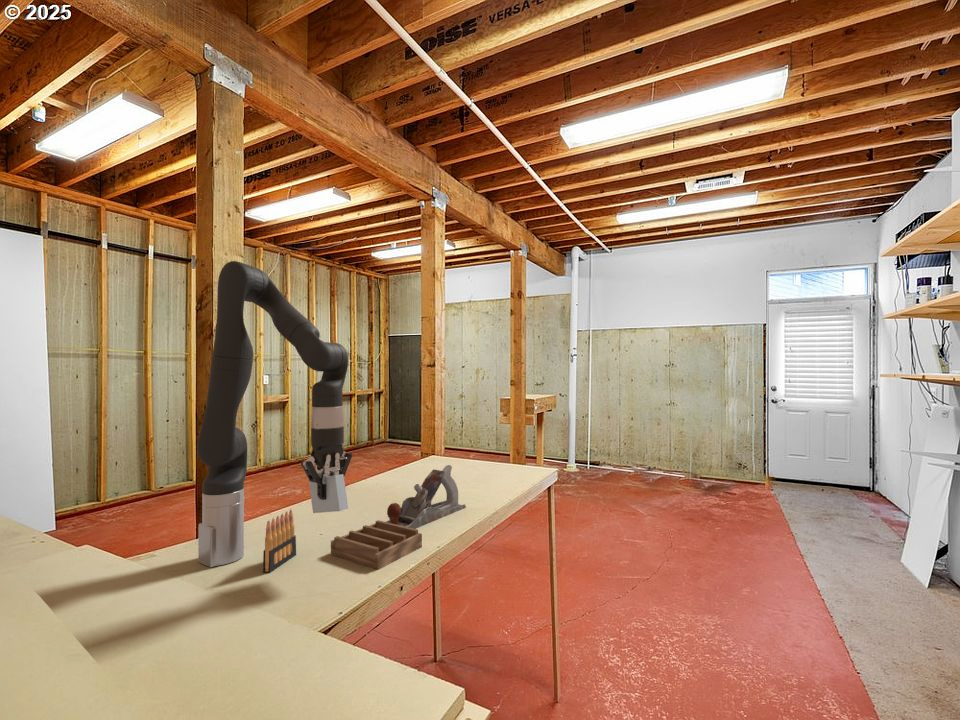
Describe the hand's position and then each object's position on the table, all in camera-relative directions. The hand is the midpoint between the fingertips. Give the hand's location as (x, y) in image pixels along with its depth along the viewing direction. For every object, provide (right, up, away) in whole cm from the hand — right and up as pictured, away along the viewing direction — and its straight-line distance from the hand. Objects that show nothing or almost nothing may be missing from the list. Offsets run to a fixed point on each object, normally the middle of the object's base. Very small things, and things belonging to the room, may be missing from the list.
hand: (327, 497), depth 108 cm
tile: (+1, -3, -1) cm, 3 cm away
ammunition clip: (-13, -18, +4) cm, 22 cm away
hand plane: (+19, -18, +36) cm, 45 cm away
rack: (+9, -17, +11) cm, 22 cm away
